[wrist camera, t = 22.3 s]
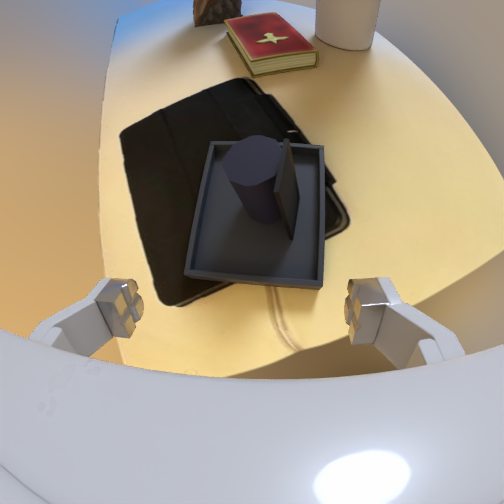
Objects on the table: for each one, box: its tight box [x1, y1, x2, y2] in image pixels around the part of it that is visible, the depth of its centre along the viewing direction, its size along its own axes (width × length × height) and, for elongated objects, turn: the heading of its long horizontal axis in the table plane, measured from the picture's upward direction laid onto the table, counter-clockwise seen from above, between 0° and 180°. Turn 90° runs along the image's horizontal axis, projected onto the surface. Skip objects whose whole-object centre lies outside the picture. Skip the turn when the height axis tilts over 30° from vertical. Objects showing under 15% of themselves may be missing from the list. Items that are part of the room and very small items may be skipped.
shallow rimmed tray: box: [184, 141, 325, 290], centre depth 30 cm, size 17×14×2 cm
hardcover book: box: [224, 12, 319, 78], centre depth 39 cm, size 12×21×4 cm, turn 16°
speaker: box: [222, 135, 300, 240], centre depth 26 cm, size 8×6×10 cm
